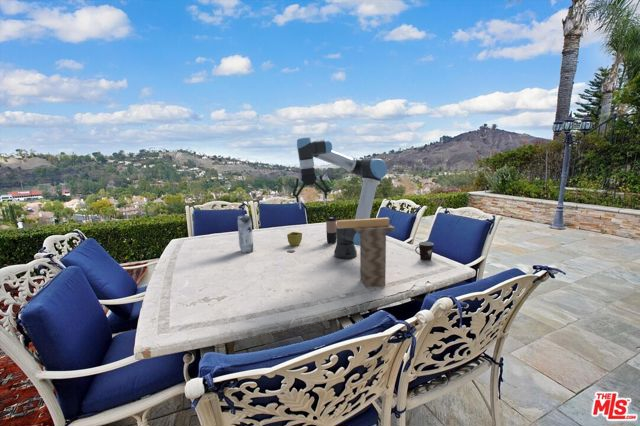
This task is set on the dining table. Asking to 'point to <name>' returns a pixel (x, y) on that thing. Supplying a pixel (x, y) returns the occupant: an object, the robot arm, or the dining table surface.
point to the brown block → (362, 223)
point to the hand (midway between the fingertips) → (312, 206)
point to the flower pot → (294, 238)
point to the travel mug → (331, 229)
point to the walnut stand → (373, 254)
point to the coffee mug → (425, 250)
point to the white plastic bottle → (245, 233)
